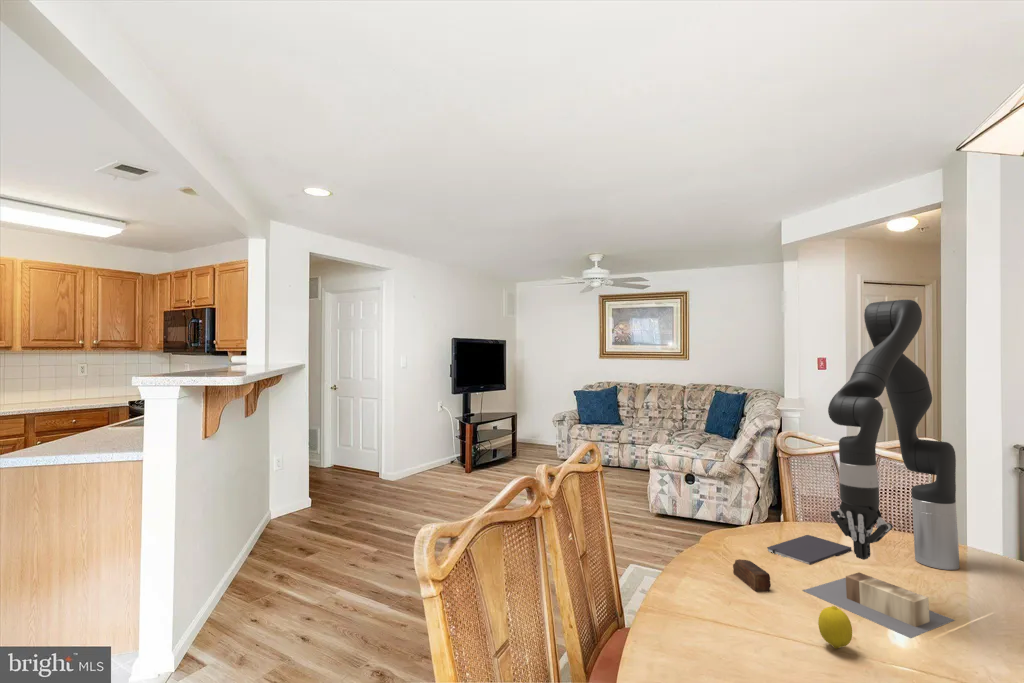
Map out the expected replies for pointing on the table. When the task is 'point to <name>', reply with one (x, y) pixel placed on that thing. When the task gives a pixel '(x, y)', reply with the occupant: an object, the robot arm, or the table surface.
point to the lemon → (835, 627)
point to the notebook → (809, 549)
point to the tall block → (888, 599)
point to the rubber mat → (837, 596)
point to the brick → (752, 575)
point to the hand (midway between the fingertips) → (862, 558)
